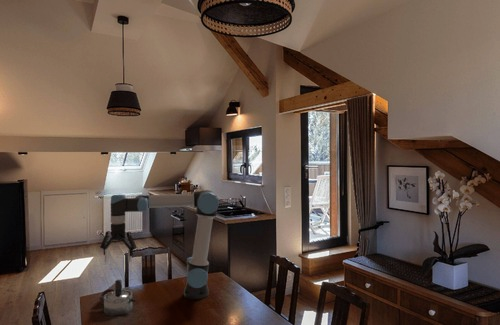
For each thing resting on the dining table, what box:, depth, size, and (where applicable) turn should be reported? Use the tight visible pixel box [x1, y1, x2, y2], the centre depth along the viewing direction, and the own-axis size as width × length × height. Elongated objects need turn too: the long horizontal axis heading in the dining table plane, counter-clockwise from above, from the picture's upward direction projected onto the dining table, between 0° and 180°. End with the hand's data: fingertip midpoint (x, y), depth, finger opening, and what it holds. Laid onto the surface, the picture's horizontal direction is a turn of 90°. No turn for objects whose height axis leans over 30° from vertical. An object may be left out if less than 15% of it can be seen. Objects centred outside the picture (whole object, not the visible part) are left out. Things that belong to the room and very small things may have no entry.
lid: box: [108, 279, 129, 300], centre depth 190 cm, size 11×11×9 cm
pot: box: [99, 289, 138, 317], centre depth 190 cm, size 21×15×8 cm
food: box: [100, 282, 115, 305], centre depth 206 cm, size 21×9×9 cm, turn 13°
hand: (118, 261), depth 190 cm, fingers open, 13 cm apart
